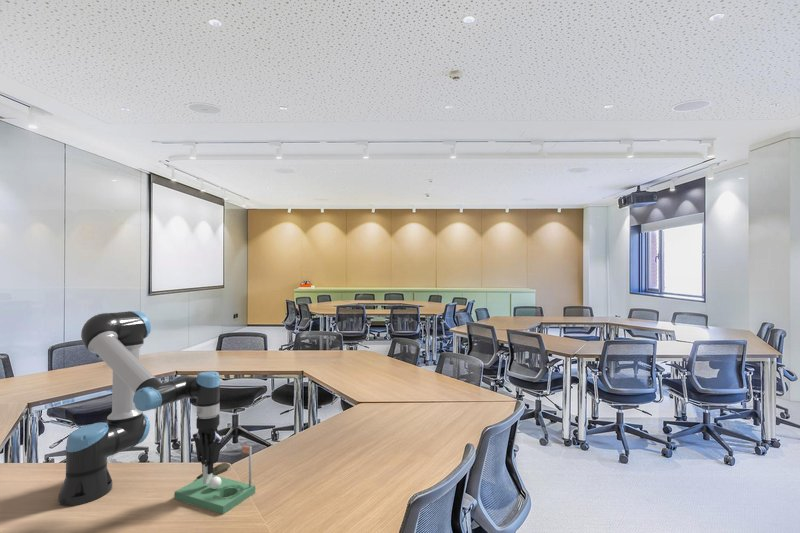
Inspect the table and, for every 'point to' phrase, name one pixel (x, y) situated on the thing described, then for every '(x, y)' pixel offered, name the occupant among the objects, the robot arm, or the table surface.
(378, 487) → the table surface
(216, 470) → the stone
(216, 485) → the ball
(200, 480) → the green
